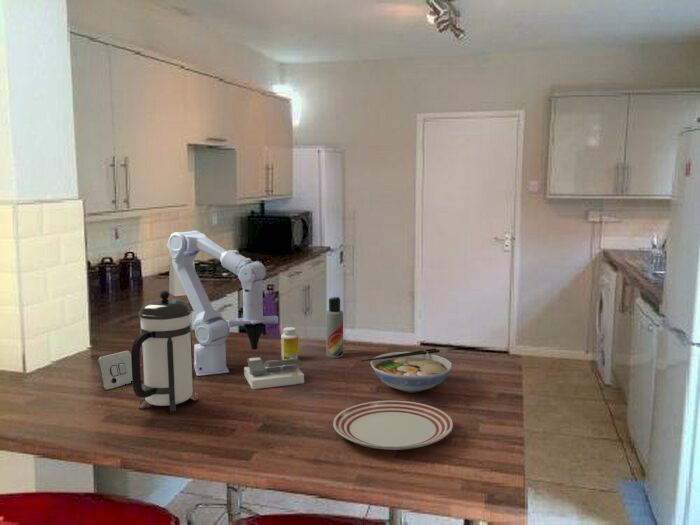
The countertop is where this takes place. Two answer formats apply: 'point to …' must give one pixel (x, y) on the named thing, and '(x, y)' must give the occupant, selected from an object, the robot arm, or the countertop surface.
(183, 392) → the coffee press
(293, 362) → the rocker right
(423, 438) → the dinner plate
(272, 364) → the rocker middle
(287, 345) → the supplement bottle
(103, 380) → the electrical switch
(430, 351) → the ramen bowl
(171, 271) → the milk
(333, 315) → the lotion bottle
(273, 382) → the switch unit
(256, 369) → the panel
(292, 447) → the countertop surface
